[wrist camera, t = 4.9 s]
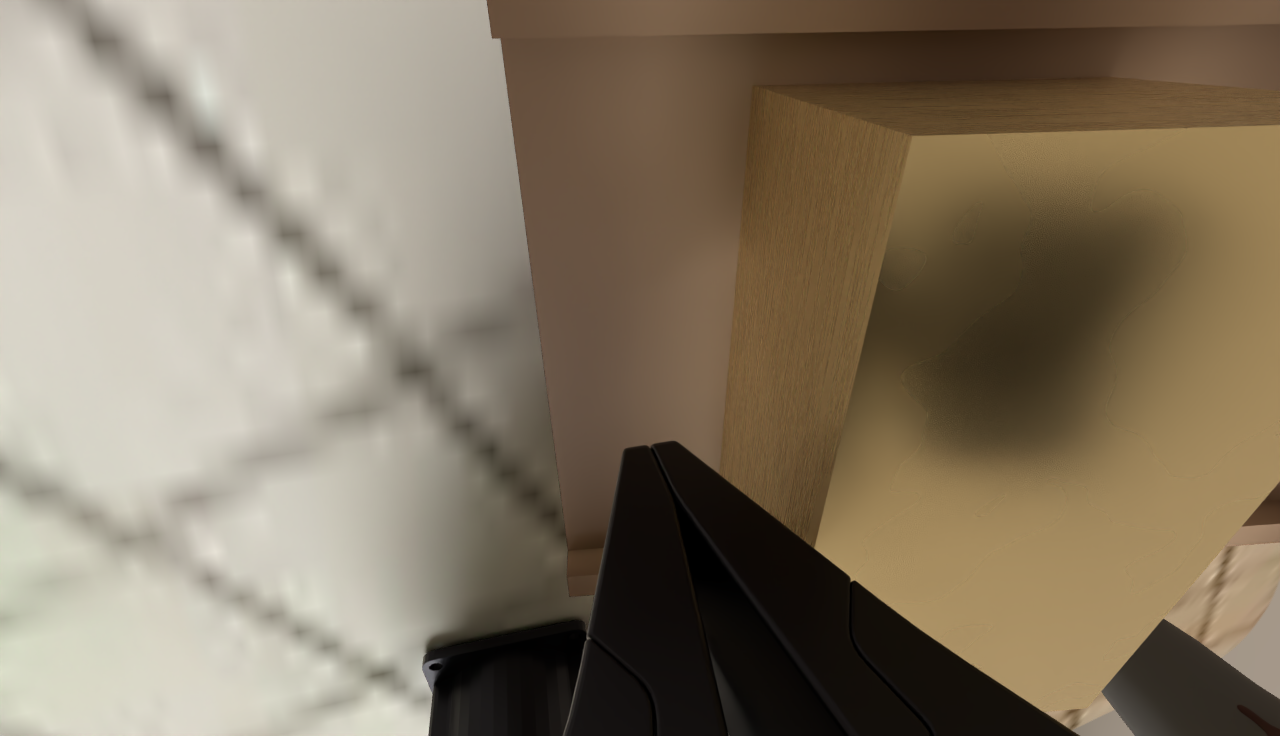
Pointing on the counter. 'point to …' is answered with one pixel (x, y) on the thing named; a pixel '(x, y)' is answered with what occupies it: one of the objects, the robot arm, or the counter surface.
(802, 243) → the tan wood-grain block
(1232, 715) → the sundae
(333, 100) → the counter surface
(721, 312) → the wooden tray
